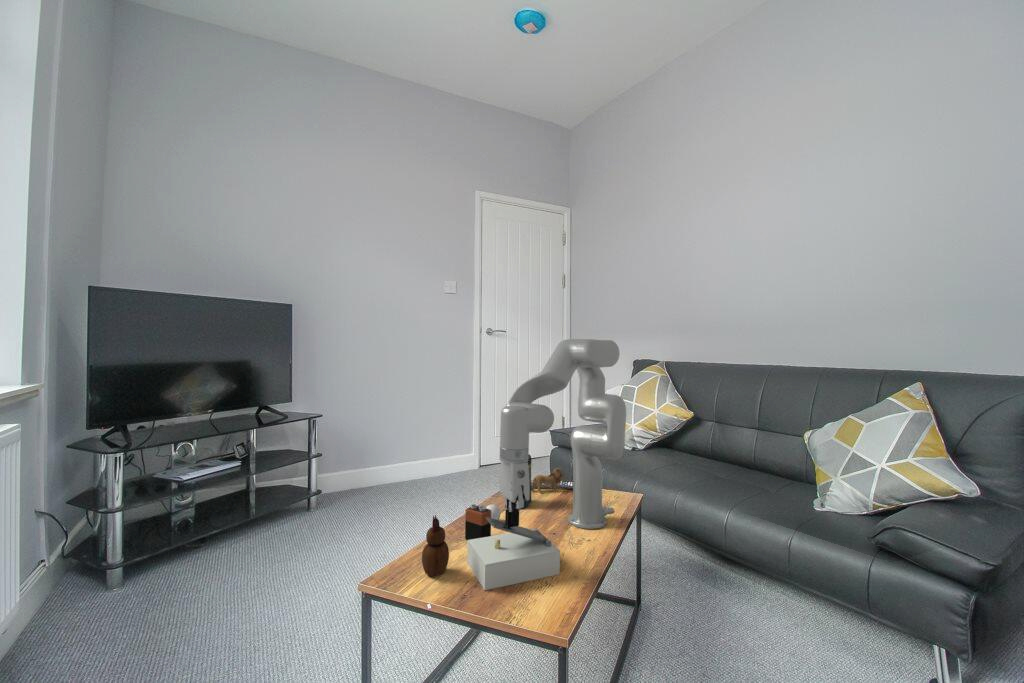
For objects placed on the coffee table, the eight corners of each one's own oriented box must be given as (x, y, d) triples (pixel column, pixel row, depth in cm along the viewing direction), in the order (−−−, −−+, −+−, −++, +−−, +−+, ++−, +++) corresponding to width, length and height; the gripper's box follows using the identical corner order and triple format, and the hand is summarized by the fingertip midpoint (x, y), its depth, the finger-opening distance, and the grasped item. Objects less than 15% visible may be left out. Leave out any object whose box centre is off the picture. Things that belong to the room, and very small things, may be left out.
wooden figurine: (434, 582, 105) (435, 520, 105) (417, 575, 108) (418, 514, 108) (452, 570, 111) (453, 511, 111) (435, 564, 114) (436, 506, 114)
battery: (482, 545, 125) (482, 510, 125) (464, 539, 128) (464, 505, 129) (491, 540, 128) (491, 506, 128) (473, 534, 132) (474, 501, 132)
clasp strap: (538, 535, 118) (539, 531, 119) (548, 544, 113) (549, 540, 113) (485, 520, 112) (487, 515, 113) (493, 529, 107) (495, 524, 107)
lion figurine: (559, 487, 178) (560, 465, 178) (565, 491, 173) (566, 469, 173) (526, 491, 173) (527, 468, 173) (532, 495, 168) (532, 472, 168)
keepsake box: (535, 550, 122) (535, 522, 122) (559, 574, 109) (559, 543, 110) (467, 562, 115) (467, 533, 115) (484, 590, 102) (485, 556, 102)
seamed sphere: (483, 518, 145) (484, 501, 145) (500, 519, 144) (501, 502, 144) (481, 528, 137) (481, 510, 137) (499, 528, 137) (499, 510, 137)
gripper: (539, 459, 107) (537, 535, 106) (515, 447, 121) (514, 514, 120) (511, 461, 104) (509, 539, 104) (490, 448, 118) (488, 517, 117)
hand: (511, 525), depth 112 cm, fingers closed
